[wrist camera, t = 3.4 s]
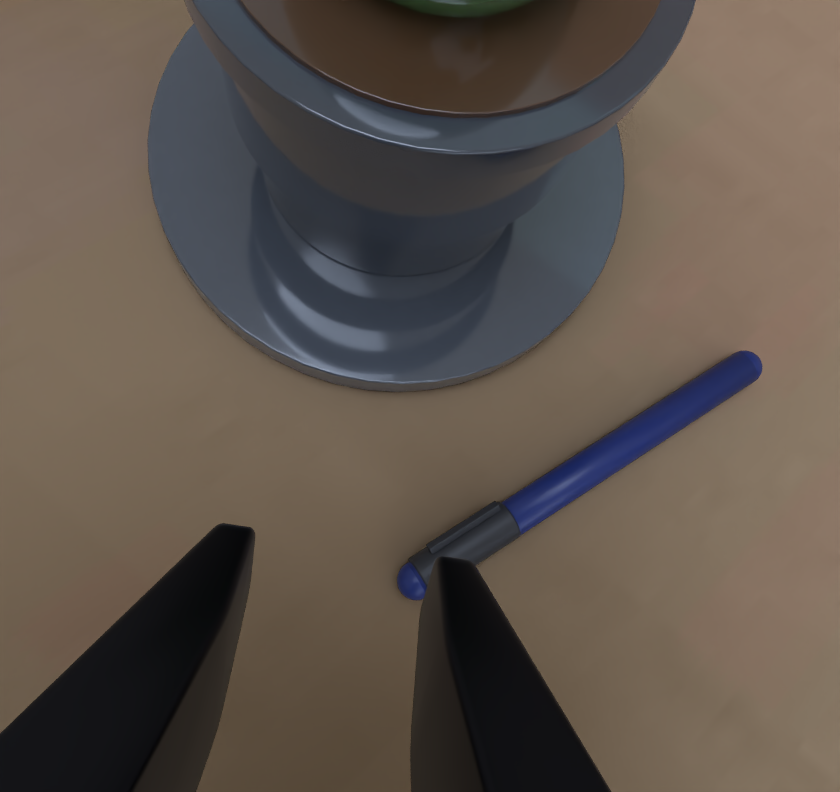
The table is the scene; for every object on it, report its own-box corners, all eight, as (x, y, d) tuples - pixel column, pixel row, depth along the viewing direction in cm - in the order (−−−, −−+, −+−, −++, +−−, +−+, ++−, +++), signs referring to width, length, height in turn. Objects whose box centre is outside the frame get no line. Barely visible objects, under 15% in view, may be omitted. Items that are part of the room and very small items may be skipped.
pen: (742, 365, 25) (740, 330, 24) (772, 379, 24) (770, 344, 23) (397, 589, 22) (381, 558, 21) (415, 616, 21) (399, 584, 20)
